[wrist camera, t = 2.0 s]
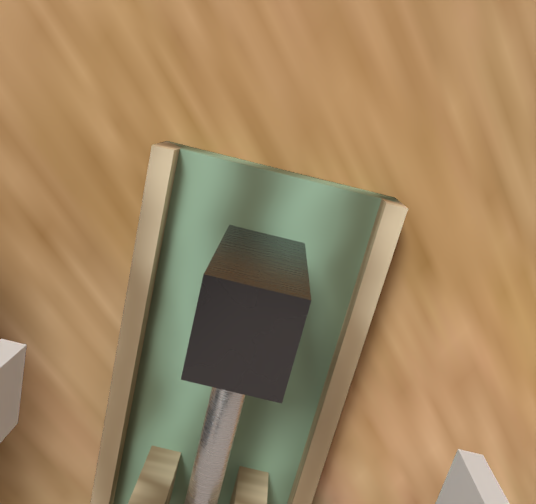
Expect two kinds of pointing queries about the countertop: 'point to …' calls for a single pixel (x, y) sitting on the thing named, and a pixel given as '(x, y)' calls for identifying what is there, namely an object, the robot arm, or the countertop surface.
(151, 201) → the tray
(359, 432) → the countertop surface
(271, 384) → the hammer
